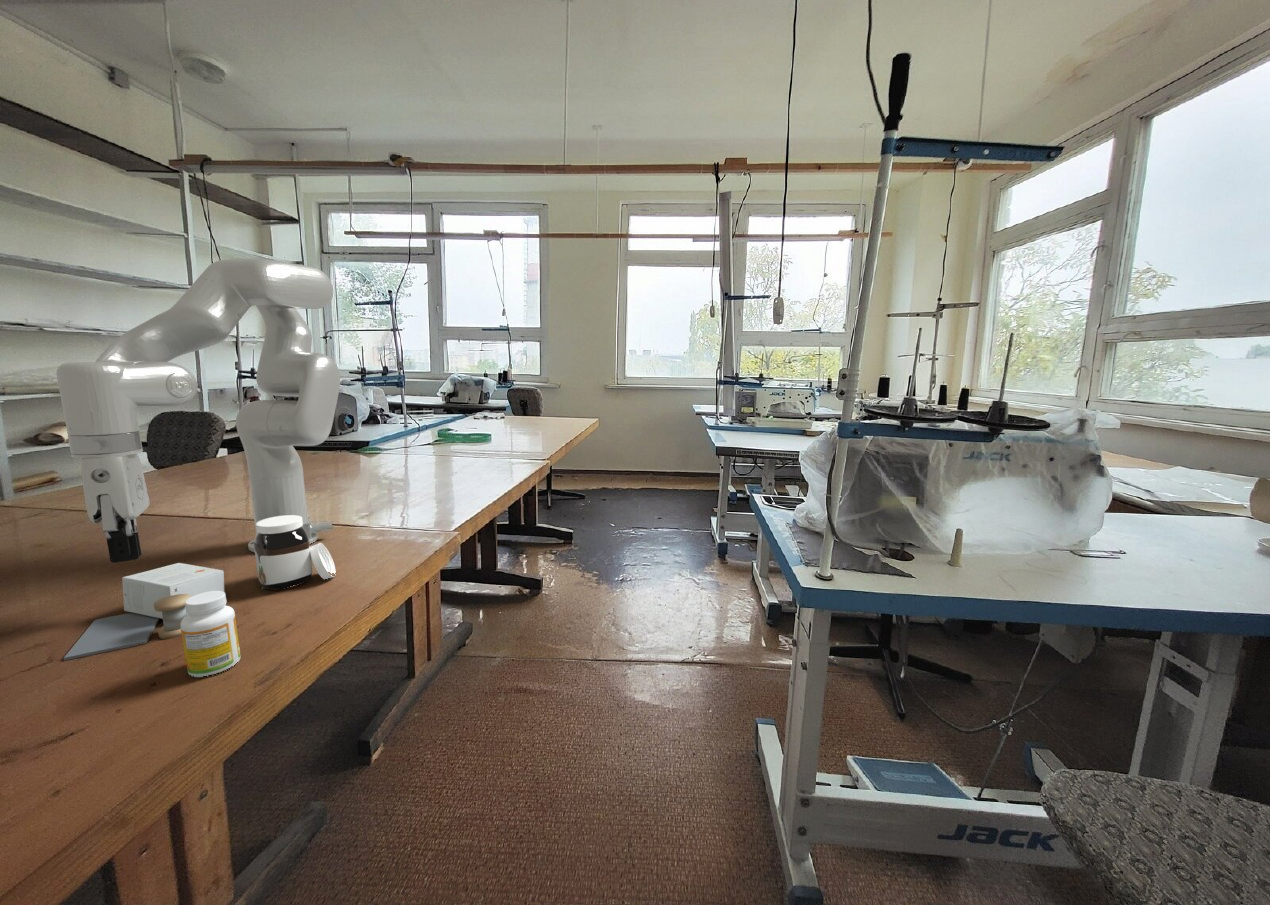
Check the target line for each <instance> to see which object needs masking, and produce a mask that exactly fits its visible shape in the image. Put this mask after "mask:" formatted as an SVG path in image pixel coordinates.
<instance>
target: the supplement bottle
mask: <svg viewBox="0 0 1270 905" xmlns="http://www.w3.org/2000/svg"><path fill="white" fill-rule="evenodd" d="M226 596H227V595H226V592H225V591H224V592H223V591H209V592H204V593H200V594H197V595H195V596H192V597H190V598H188V599H187V600H186V601H185V608H186V613H187V614H188V615H187V616H185V617H184V618H183V620H182V621H181V624H180V626H181V634H182V636H181V639H182V644H183V652H184V657H185V665H186V669H187V673H188V675H189V676H190V675H191V677H193V676H194V677H193V678H204V677H203V676H207V677H209V676H208V675H211V674H216V673H218V672H221V671H223V670H226V669H228V668H230V667H231V666H233V667H234V665H235V664H236V663H237V662H238V663H239V662H240V660H241V658H242V657H241V649H240V642H239V634H238V627H237V626H238V625H237V620H236V612H235V610H234V608H233V607H231V606H229V605H227V597H226ZM238 663H237V664H238ZM237 664H236V665H237ZM236 665H235V666H236ZM230 669H231V668H230ZM228 670H229V669H228ZM226 671H227V670H226ZM216 675H217V674H216Z"/></svg>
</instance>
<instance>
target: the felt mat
mask: <svg viewBox="0 0 1270 905" xmlns="http://www.w3.org/2000/svg"><path fill="white" fill-rule="evenodd" d="M160 620H161V618H156V617H151V616H147V615H142V614H137V613H132V612H128V613H124V614H118V615H112V616H108V617H107V616H106V617H102V618H97V619H94V620H93V622H92V623H91V624H90V625H89V626H88V628H87V629H86V630H85V631H84V632H83V634H82V635H81V636H80V637H79V638H78V640H77V641H76V642H75V644H74V645H73V646H72V647H71V648H70V650H69V651H68V652H67V653H66V655H65V656H64V657H63V661H70V660H73V659H79V658H83V657H84V658H85V657H88V656H93V655H97V654H102V653H107V652H111V651H115V650H116V651H117V650H121V649H126V648H130V647H135V646H140V645H145V644H147V642H148V641H149V639H150V637H151V636H152V634H153V632H154V631H155V629H156V627H157V625H158V623H159V621H160ZM139 644H140V645H139Z"/></svg>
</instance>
